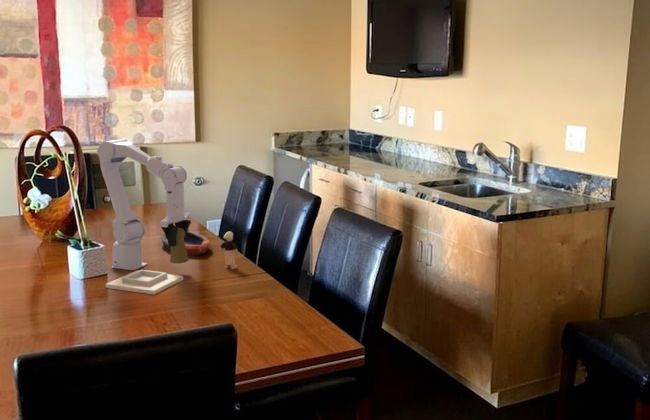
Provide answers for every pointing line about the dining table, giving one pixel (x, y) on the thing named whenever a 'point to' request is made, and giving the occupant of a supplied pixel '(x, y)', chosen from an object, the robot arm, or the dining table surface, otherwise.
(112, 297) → the dining table surface
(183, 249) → the cork
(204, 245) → the dish
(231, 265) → the grandmother figurine
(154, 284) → the holder board
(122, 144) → the robot arm
